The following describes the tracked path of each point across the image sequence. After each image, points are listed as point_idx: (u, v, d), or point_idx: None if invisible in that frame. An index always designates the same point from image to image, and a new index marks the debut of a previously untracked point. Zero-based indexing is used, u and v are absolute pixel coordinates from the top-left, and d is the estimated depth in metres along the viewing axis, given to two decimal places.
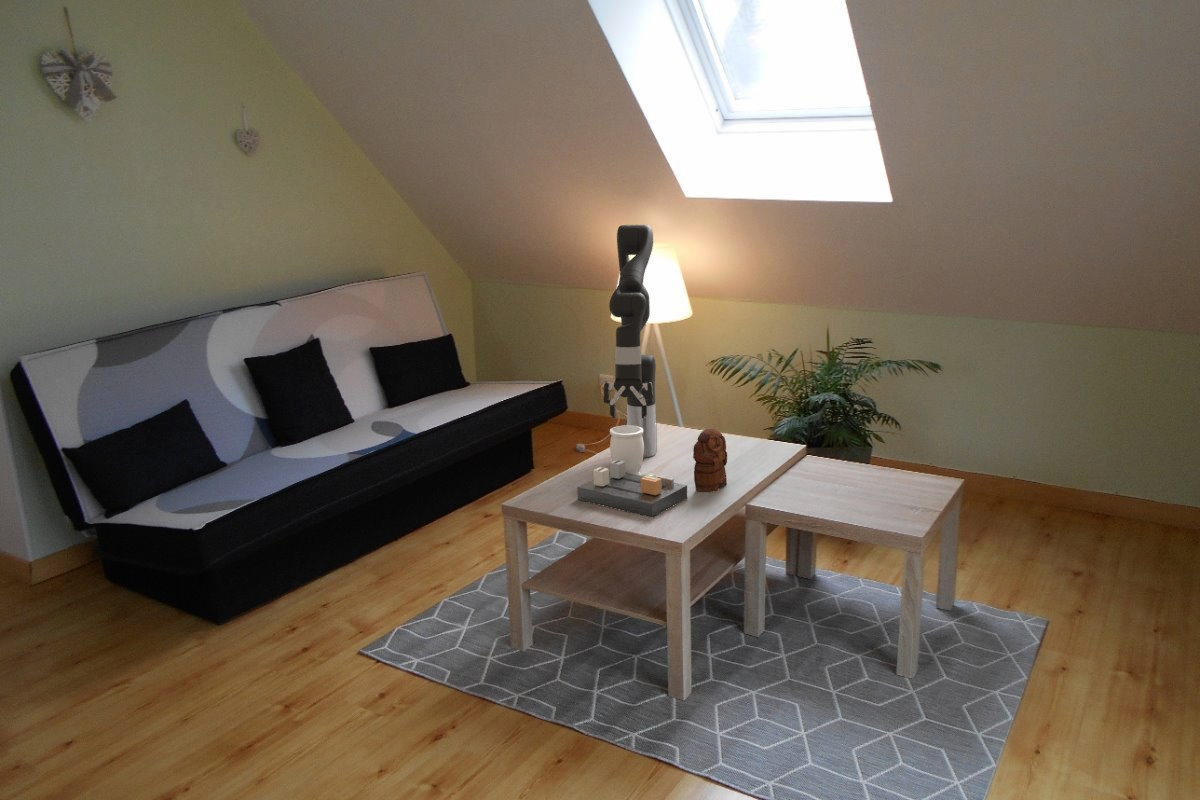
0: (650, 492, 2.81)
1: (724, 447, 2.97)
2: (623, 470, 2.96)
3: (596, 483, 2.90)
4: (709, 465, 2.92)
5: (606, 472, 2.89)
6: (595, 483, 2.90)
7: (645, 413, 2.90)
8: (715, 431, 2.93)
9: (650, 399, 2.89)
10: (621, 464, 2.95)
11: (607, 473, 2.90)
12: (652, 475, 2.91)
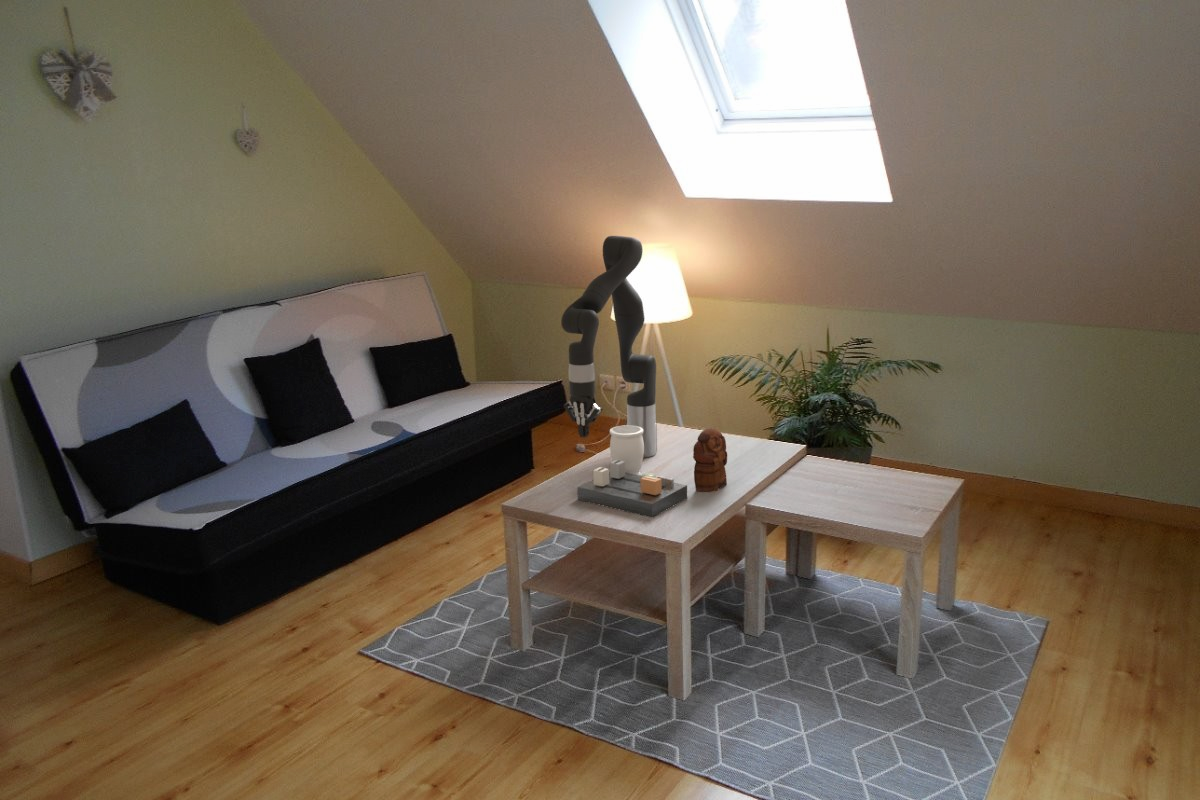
0: (650, 492, 2.81)
1: (724, 447, 2.97)
2: (623, 470, 2.96)
3: (596, 483, 2.90)
4: (709, 465, 2.92)
5: (606, 472, 2.89)
6: (595, 483, 2.90)
7: (585, 433, 2.89)
8: (715, 431, 2.93)
9: (587, 420, 2.87)
10: (621, 464, 2.95)
11: (607, 473, 2.90)
12: (652, 475, 2.91)
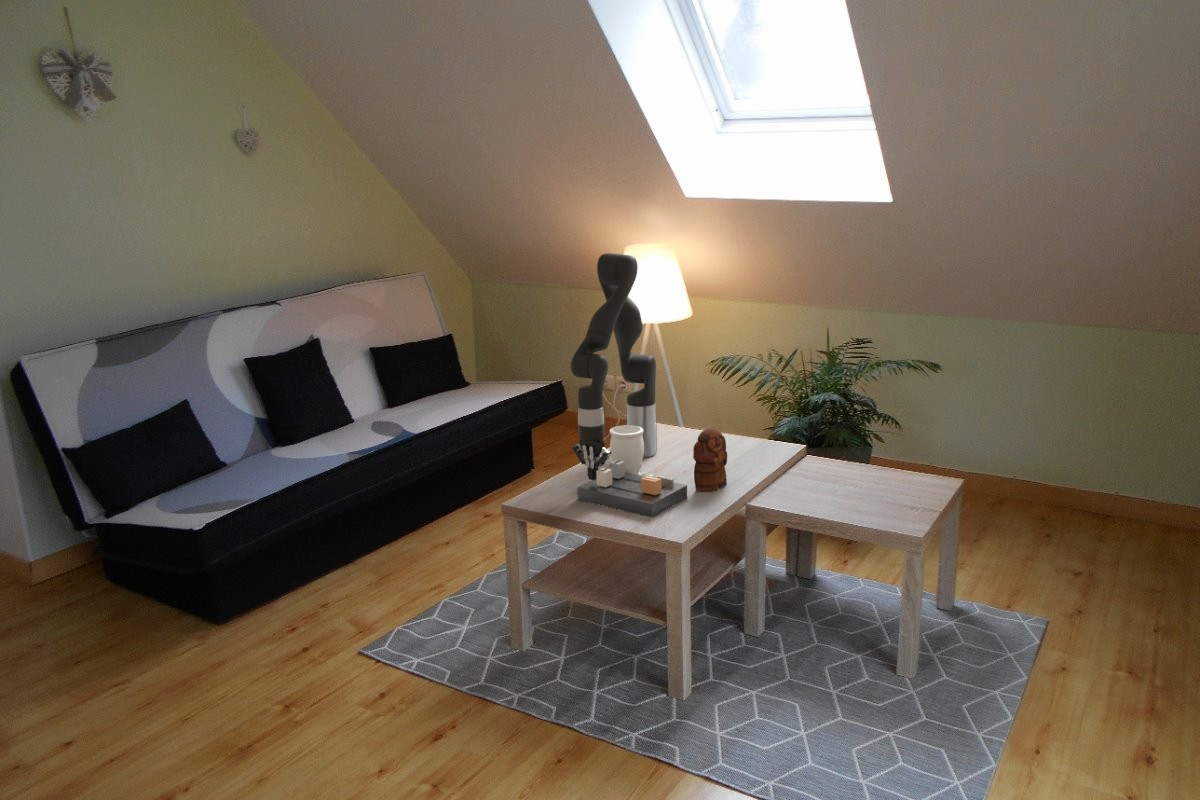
0: (650, 492, 2.81)
1: (724, 447, 2.97)
2: (623, 470, 2.96)
3: (599, 484, 2.89)
4: (709, 465, 2.92)
5: (609, 472, 2.88)
6: (598, 484, 2.89)
7: (594, 475, 2.91)
8: (715, 431, 2.93)
9: (597, 463, 2.88)
10: (621, 464, 2.95)
11: (610, 474, 2.89)
12: (652, 475, 2.91)
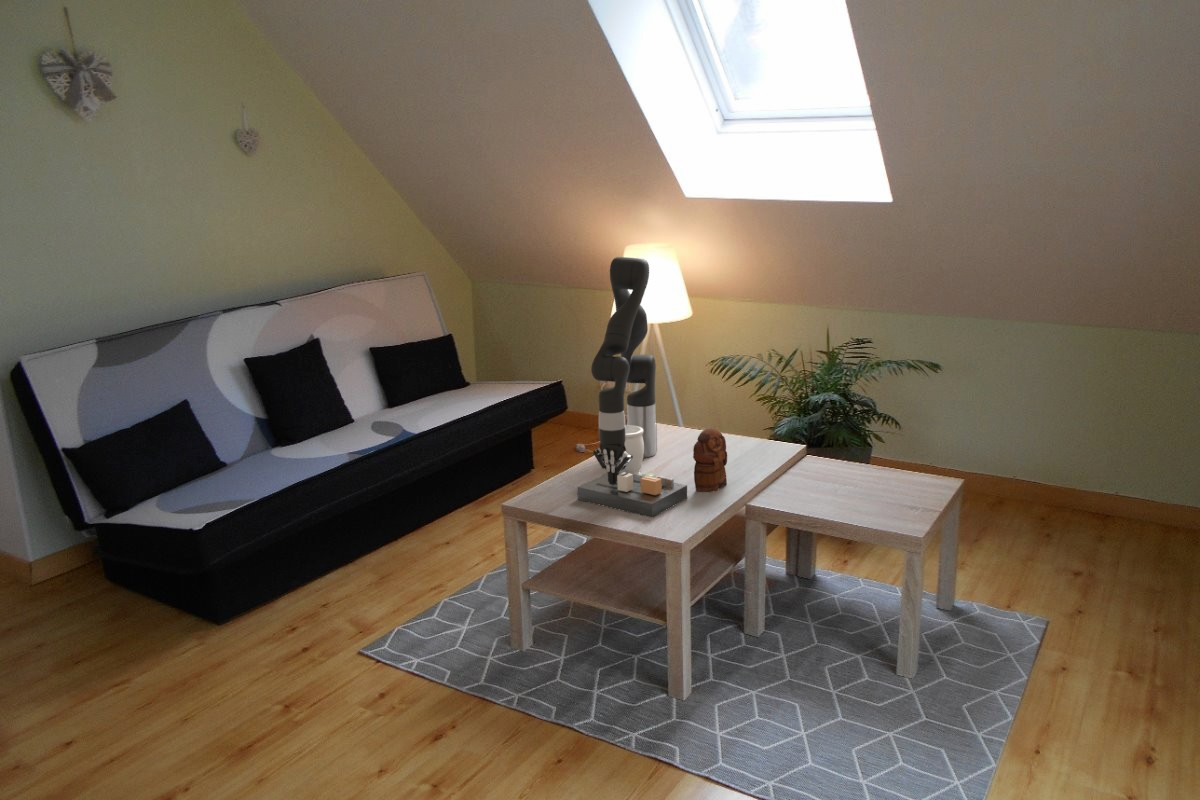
0: (650, 492, 2.81)
1: (724, 447, 2.97)
2: (623, 470, 2.96)
3: (620, 488, 2.85)
4: (709, 465, 2.92)
5: (630, 477, 2.84)
6: (619, 488, 2.85)
7: (615, 480, 2.86)
8: (715, 431, 2.93)
9: (618, 468, 2.84)
10: None
11: (631, 478, 2.85)
12: (652, 475, 2.91)
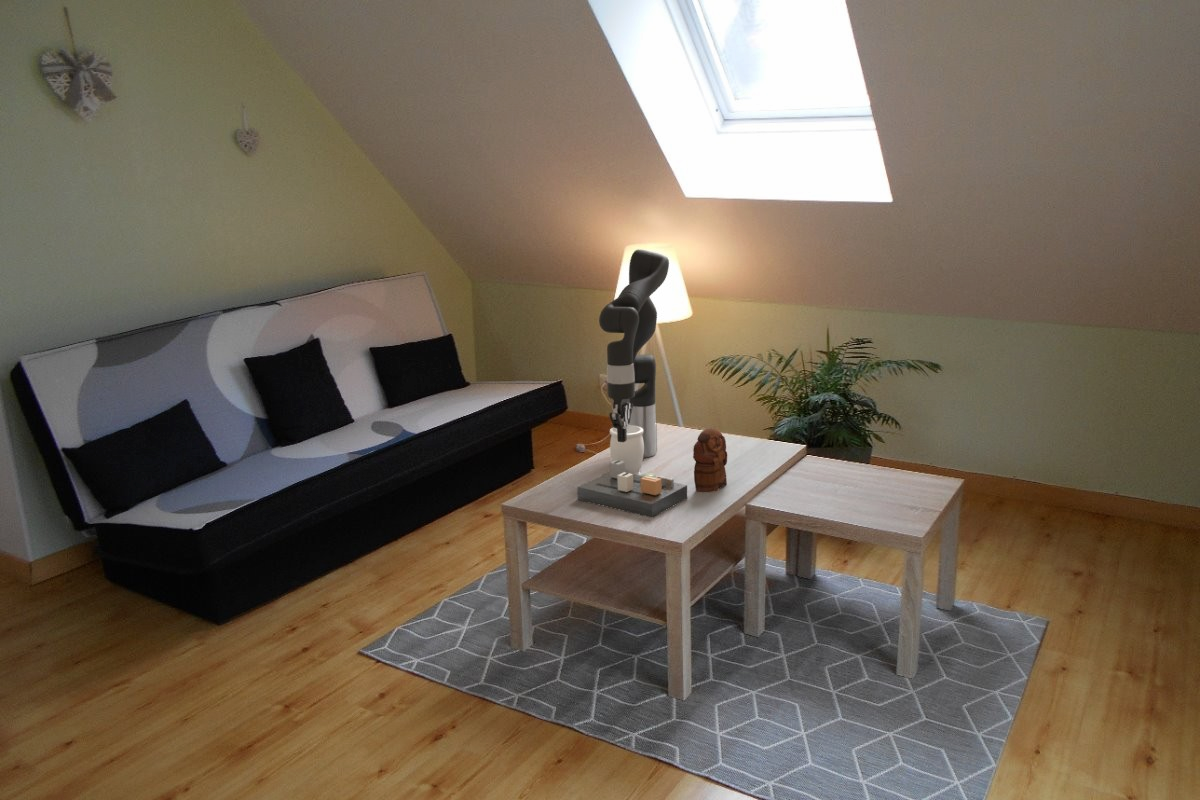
0: (650, 492, 2.81)
1: (724, 447, 2.97)
2: (623, 470, 2.96)
3: (620, 488, 2.85)
4: (709, 465, 2.92)
5: (630, 477, 2.84)
6: (619, 488, 2.85)
7: None
8: (715, 431, 2.93)
9: None
10: (621, 464, 2.95)
11: (631, 478, 2.85)
12: (652, 475, 2.91)
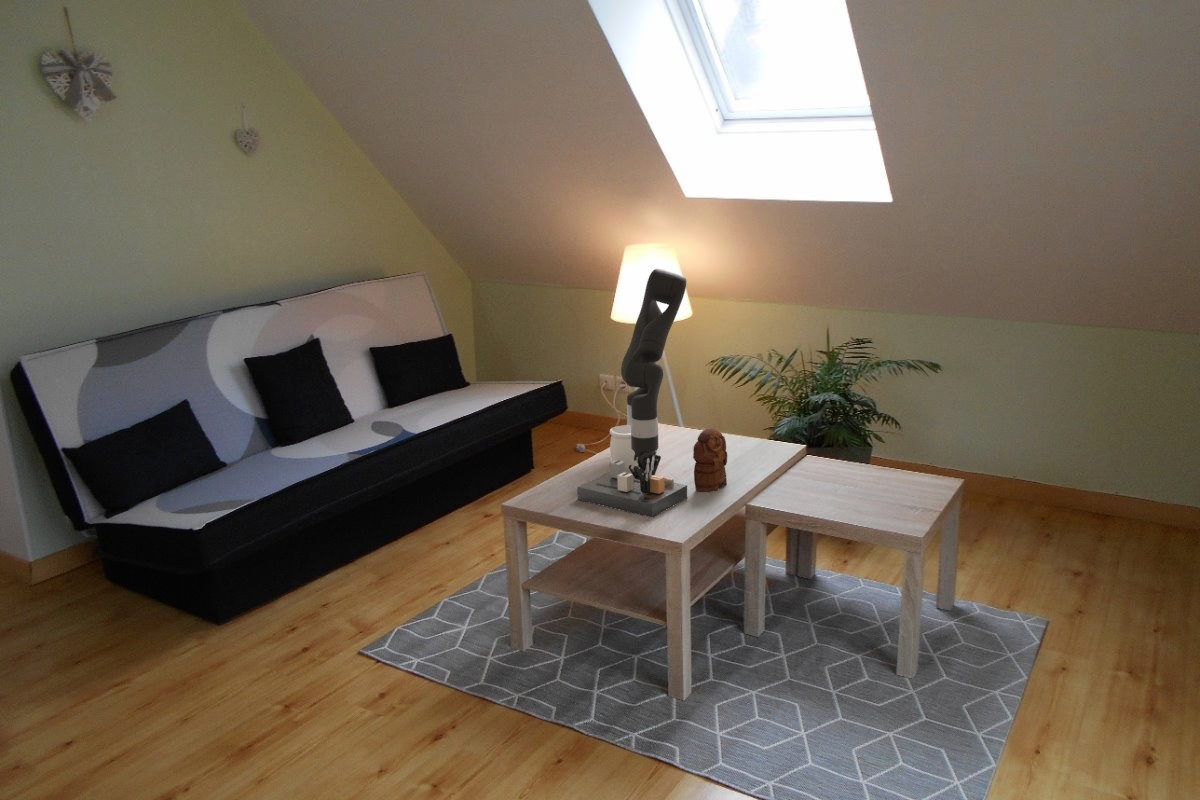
0: (653, 490, 2.82)
1: (724, 447, 2.97)
2: (623, 470, 2.96)
3: (620, 488, 2.85)
4: (709, 465, 2.92)
5: (630, 477, 2.84)
6: (619, 488, 2.85)
7: None
8: (715, 431, 2.93)
9: None
10: (621, 464, 2.95)
11: (631, 478, 2.85)
12: None
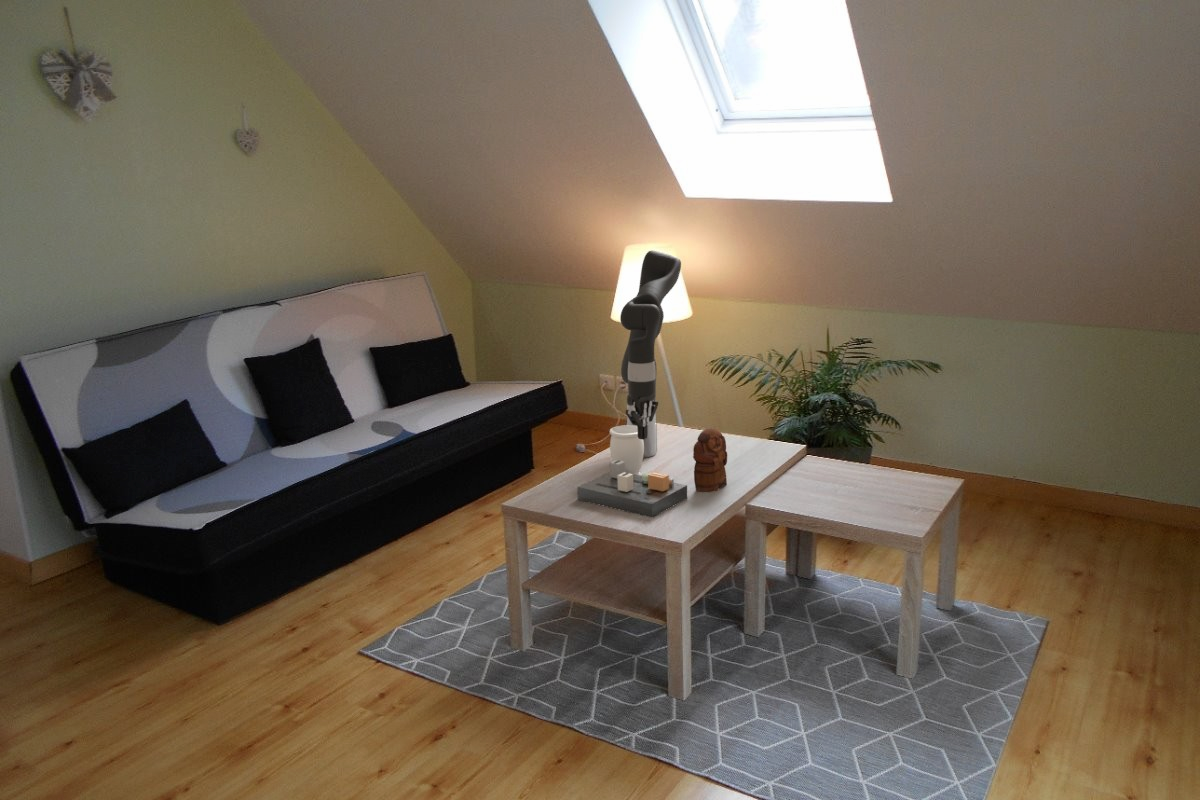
0: (657, 488, 2.84)
1: (724, 447, 2.97)
2: (623, 470, 2.96)
3: (620, 488, 2.85)
4: (709, 465, 2.92)
5: (630, 477, 2.84)
6: (619, 488, 2.85)
7: None
8: (715, 431, 2.93)
9: None
10: (621, 464, 2.95)
11: (631, 478, 2.85)
12: None
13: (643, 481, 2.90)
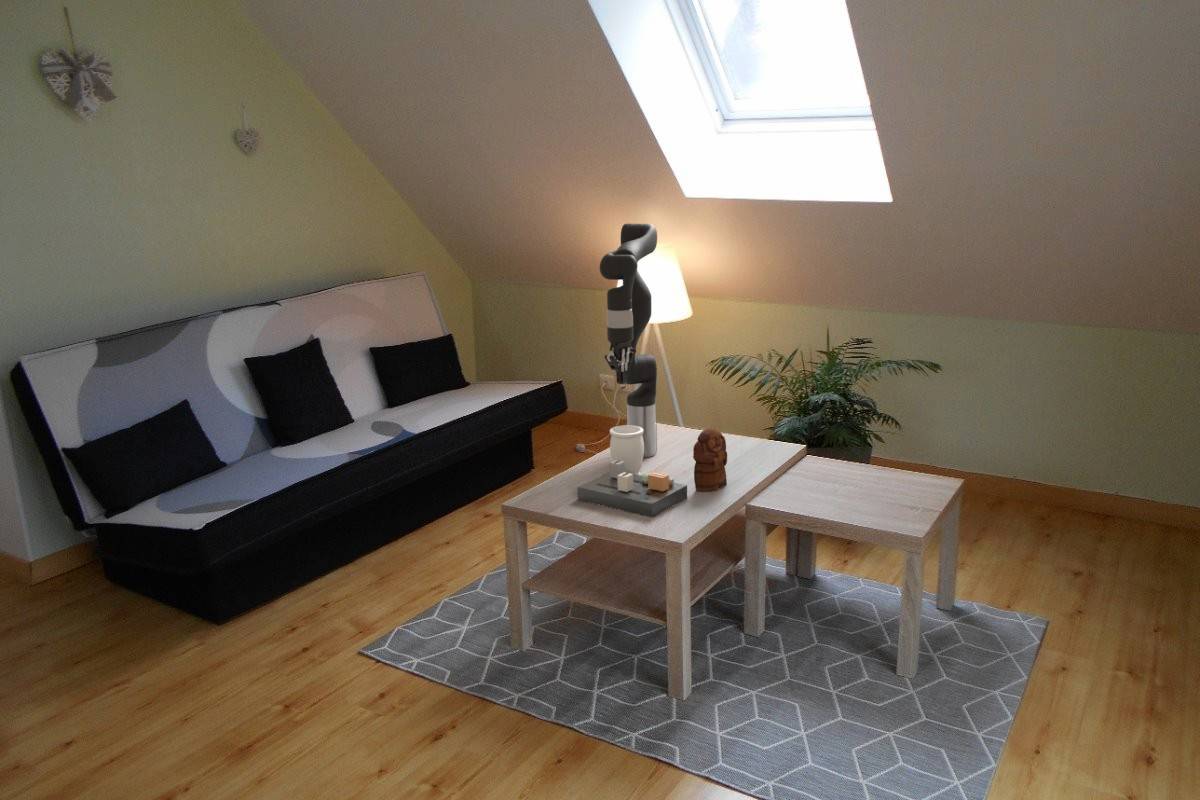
0: (657, 488, 2.84)
1: (724, 447, 2.97)
2: (623, 470, 2.96)
3: (620, 488, 2.85)
4: (709, 465, 2.92)
5: (630, 477, 2.84)
6: (619, 488, 2.85)
7: None
8: (715, 431, 2.93)
9: None
10: (621, 464, 2.95)
11: (631, 478, 2.85)
12: None
13: (643, 481, 2.90)
